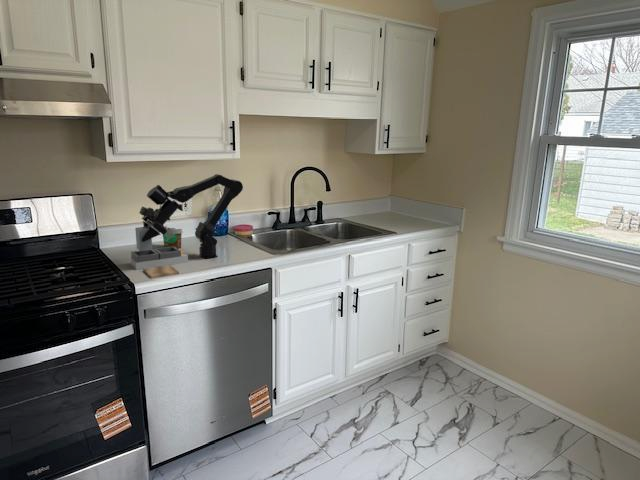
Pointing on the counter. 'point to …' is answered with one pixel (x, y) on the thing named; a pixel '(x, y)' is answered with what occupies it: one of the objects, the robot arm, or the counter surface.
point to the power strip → (157, 257)
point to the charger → (139, 235)
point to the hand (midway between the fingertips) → (140, 239)
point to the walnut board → (160, 271)
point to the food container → (172, 237)
